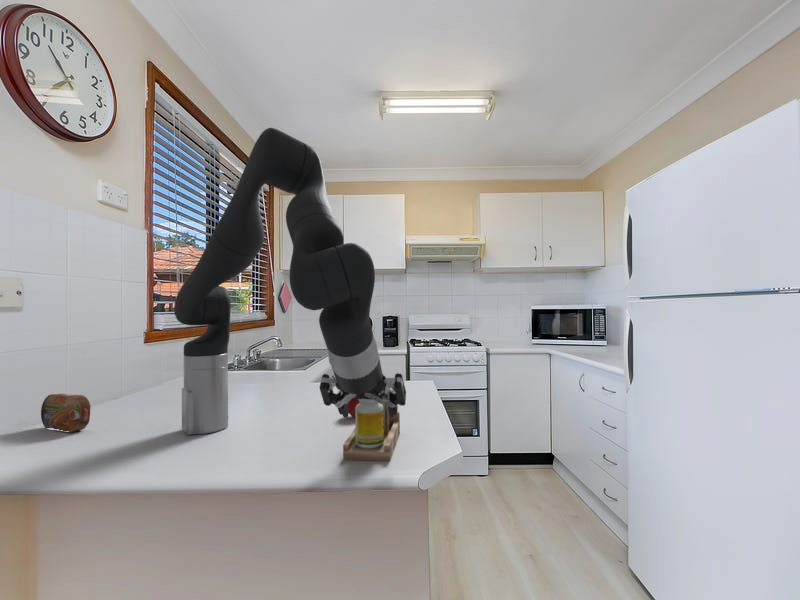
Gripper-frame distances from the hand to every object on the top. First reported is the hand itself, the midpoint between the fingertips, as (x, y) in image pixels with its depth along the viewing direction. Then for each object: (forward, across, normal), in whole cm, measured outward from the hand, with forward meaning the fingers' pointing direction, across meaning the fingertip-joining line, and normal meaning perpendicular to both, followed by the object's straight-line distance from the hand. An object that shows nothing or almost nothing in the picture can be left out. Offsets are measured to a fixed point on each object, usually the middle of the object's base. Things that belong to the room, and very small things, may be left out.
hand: (369, 413), depth 72 cm
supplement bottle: (+6, 0, +3) cm, 7 cm away
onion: (+24, +9, -13) cm, 29 cm away
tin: (+15, +75, -4) cm, 77 cm away
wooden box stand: (+10, 0, +1) cm, 10 cm away
